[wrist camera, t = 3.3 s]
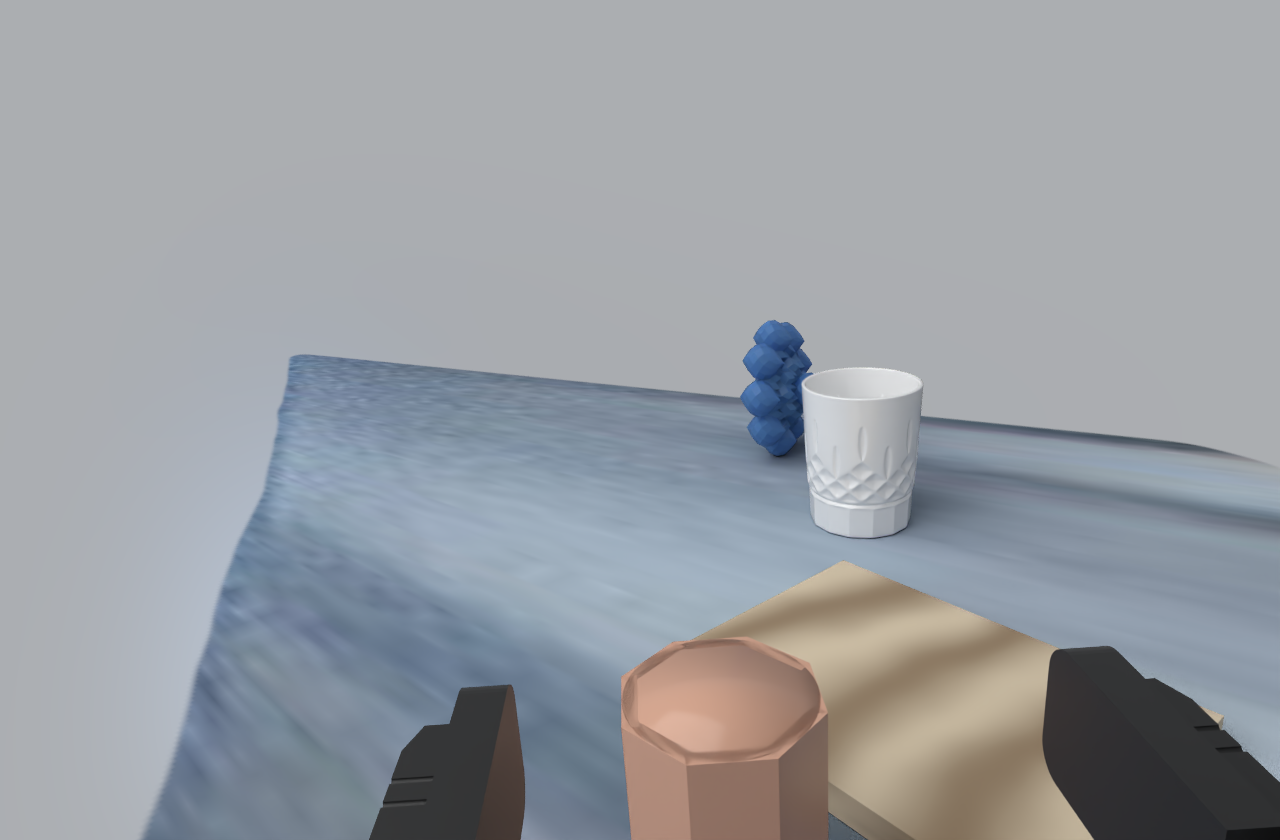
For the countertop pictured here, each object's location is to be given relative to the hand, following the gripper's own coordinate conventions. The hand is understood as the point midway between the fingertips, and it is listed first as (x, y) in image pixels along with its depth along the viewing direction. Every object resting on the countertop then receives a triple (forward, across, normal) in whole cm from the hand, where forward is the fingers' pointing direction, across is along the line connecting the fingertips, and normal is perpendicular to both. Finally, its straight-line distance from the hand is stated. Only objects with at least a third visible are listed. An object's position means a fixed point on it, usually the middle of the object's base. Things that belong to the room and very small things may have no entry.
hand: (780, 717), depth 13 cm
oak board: (+22, -10, +18) cm, 30 cm away
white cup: (+44, -13, +18) cm, 49 cm away
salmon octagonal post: (+11, 0, +18) cm, 21 cm away
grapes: (+57, -11, +17) cm, 61 cm away
